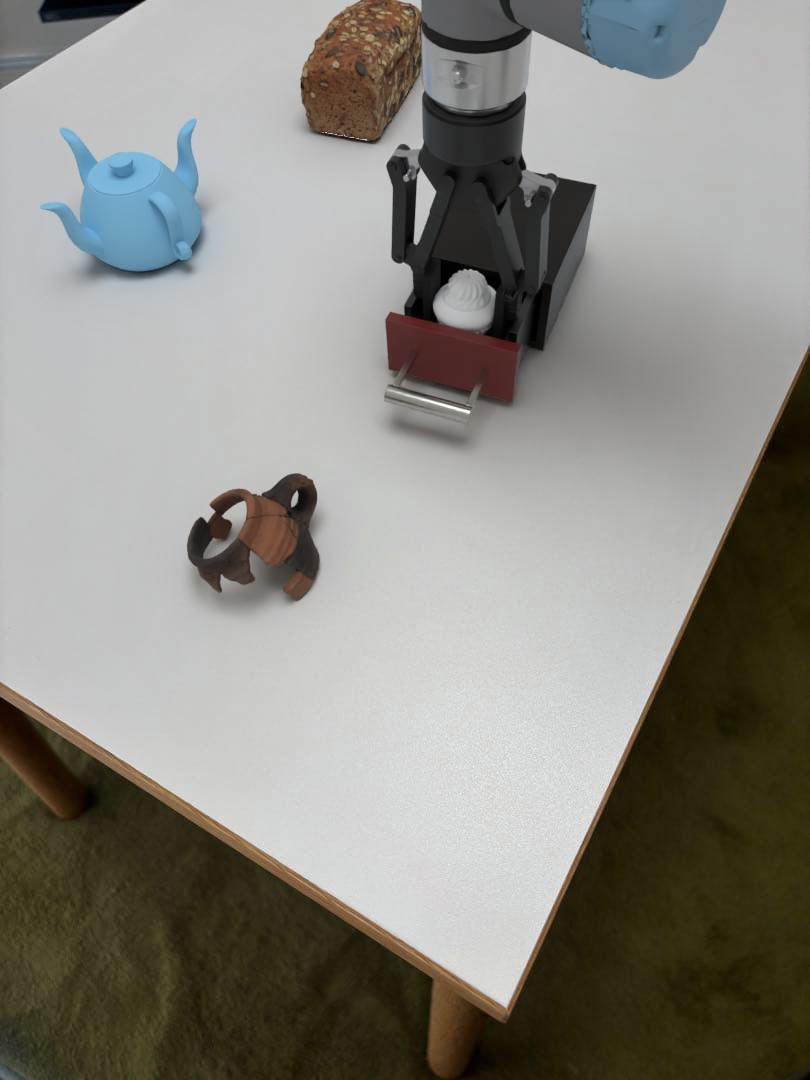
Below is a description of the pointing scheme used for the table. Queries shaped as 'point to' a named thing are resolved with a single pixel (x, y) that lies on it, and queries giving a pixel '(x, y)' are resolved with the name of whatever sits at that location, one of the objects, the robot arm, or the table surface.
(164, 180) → the teapot
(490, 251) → the drawer box
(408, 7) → the bread
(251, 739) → the table surface
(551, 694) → the table surface
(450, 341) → the red drawer
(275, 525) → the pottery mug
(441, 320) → the muffin
